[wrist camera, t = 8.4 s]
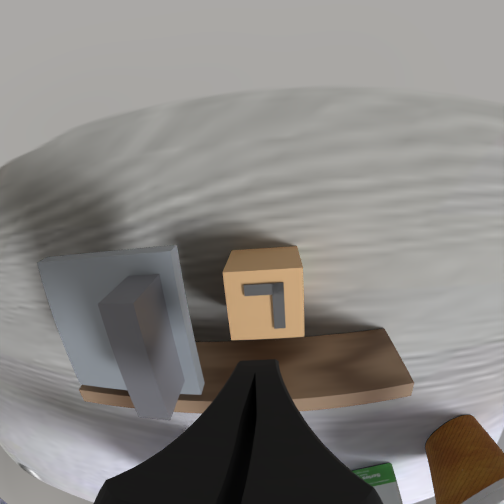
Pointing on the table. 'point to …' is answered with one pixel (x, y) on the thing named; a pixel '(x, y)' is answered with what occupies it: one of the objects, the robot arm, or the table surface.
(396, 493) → the ink box
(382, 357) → the walnut track wall
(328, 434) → the table surface
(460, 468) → the disposable coffee cup
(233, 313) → the letter cube
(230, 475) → the robot arm
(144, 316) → the slate cover
